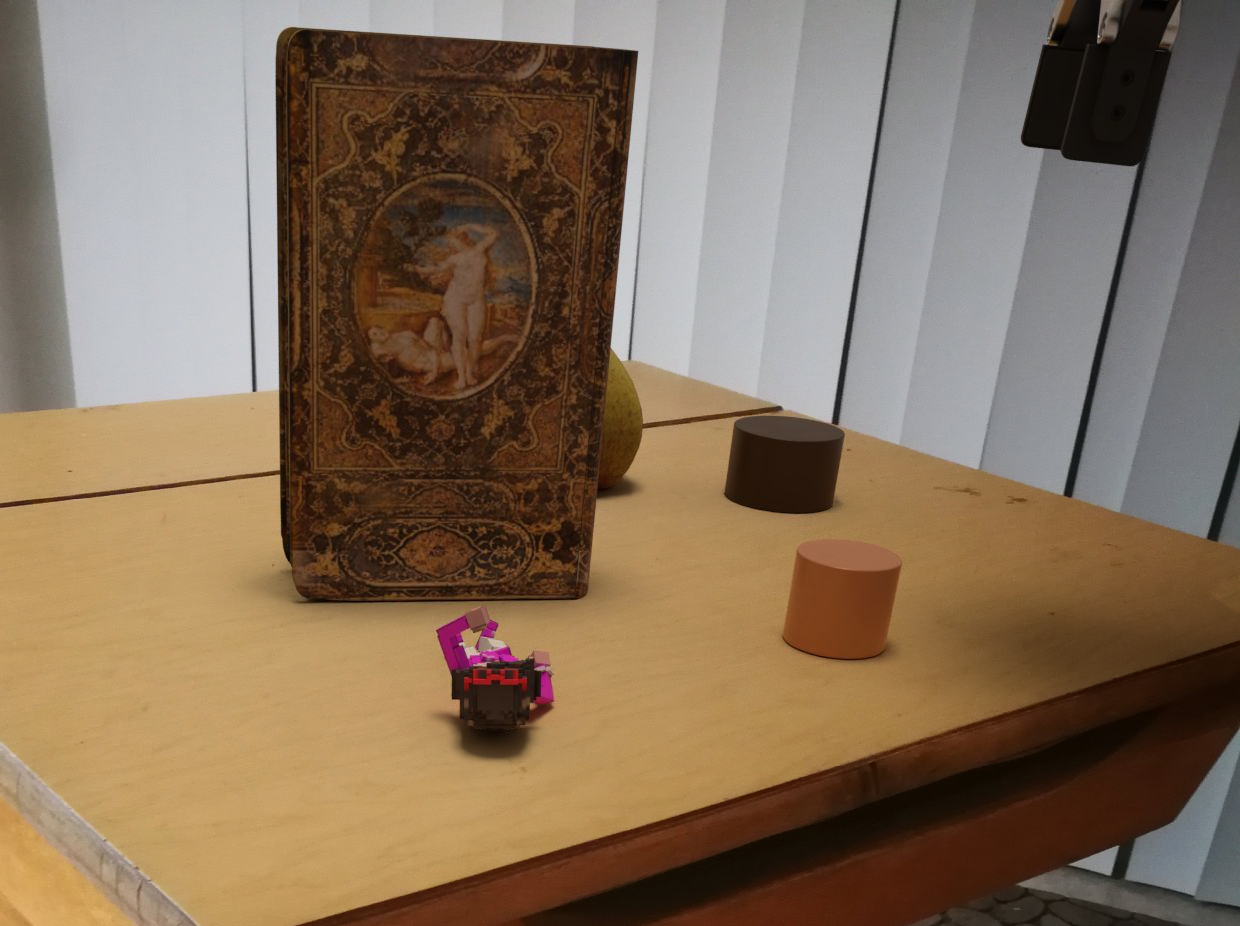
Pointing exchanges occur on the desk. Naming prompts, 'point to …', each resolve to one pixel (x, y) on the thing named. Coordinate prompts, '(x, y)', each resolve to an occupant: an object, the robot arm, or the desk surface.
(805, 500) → the cylinder
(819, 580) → the top cylinder
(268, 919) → the desk surface
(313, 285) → the book
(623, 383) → the fruit
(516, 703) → the character figurine
